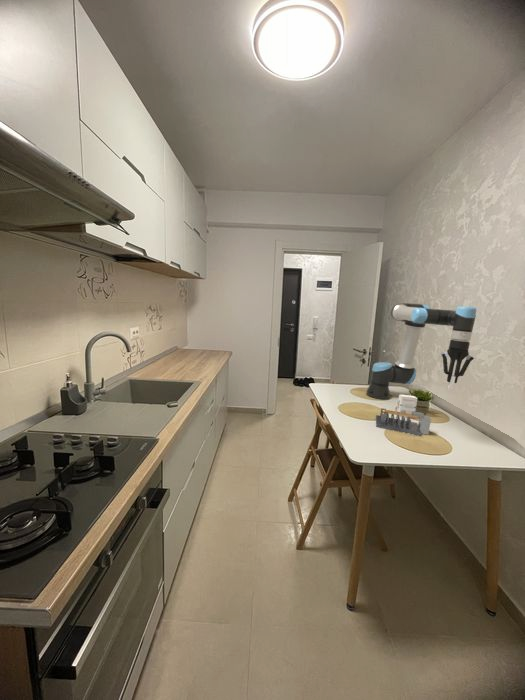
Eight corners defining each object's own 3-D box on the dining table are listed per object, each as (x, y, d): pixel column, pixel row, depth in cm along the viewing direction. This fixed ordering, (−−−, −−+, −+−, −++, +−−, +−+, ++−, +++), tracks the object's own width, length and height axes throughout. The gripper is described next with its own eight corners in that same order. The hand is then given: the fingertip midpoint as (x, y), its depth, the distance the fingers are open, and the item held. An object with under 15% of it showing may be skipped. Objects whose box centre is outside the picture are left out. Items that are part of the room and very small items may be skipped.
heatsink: (375, 418, 154) (377, 406, 153) (416, 426, 147) (418, 414, 146) (376, 426, 143) (378, 413, 142) (420, 436, 136) (422, 422, 135)
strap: (382, 411, 148) (382, 408, 148) (416, 416, 143) (417, 413, 143) (382, 413, 145) (382, 410, 145) (417, 419, 139) (418, 416, 139)
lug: (408, 427, 145) (411, 410, 144) (426, 430, 143) (429, 413, 141) (410, 431, 141) (413, 413, 139) (428, 434, 138) (431, 417, 136)
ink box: (410, 414, 164) (414, 395, 162) (414, 418, 159) (418, 398, 157) (395, 413, 164) (398, 393, 162) (398, 416, 159) (402, 396, 157)
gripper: (445, 339, 129) (436, 388, 133) (479, 343, 124) (468, 393, 129) (442, 337, 136) (433, 384, 140) (474, 341, 131) (463, 389, 136)
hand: (450, 389), depth 134 cm, fingers closed
